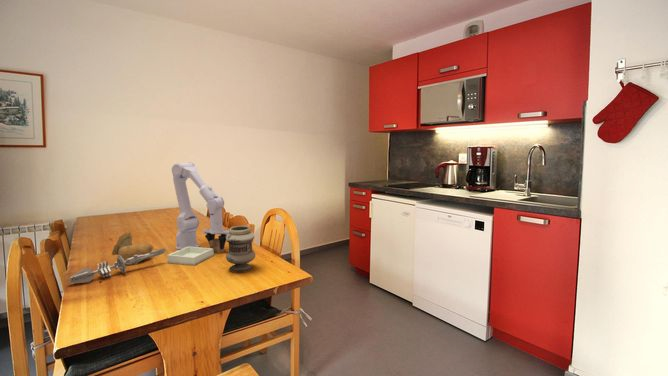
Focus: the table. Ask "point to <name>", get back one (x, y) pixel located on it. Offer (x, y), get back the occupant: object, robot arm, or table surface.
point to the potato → (135, 250)
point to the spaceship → (88, 273)
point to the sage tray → (190, 255)
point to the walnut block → (216, 246)
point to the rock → (122, 242)
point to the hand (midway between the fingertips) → (217, 248)
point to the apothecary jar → (240, 248)
